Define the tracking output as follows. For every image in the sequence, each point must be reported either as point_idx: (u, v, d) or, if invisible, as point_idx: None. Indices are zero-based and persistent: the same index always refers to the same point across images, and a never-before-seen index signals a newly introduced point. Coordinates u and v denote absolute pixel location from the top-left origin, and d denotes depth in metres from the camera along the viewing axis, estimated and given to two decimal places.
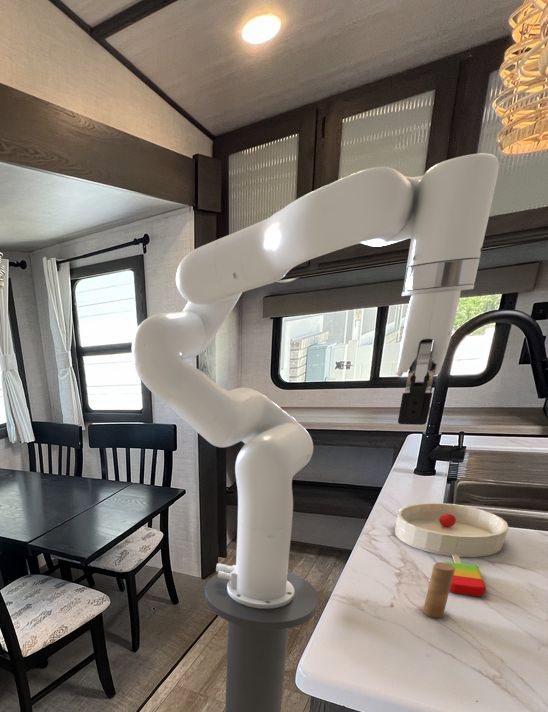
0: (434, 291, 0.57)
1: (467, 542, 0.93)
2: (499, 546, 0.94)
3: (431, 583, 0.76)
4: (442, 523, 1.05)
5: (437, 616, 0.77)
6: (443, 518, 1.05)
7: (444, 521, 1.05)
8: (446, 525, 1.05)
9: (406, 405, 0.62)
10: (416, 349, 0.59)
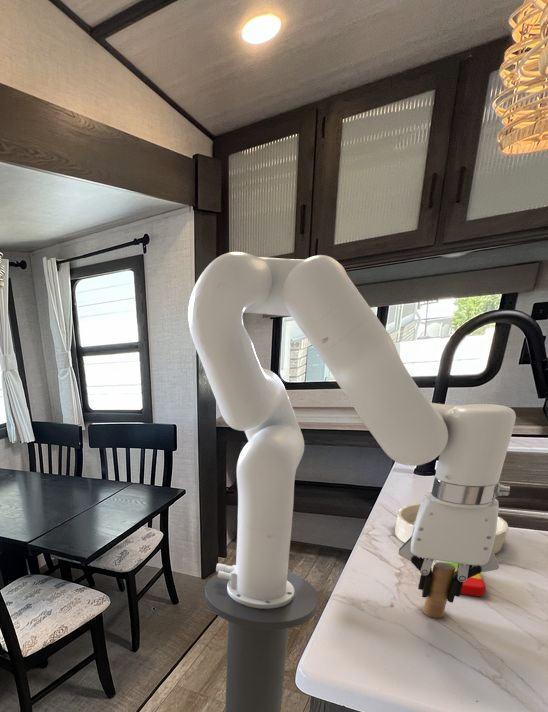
0: (430, 495, 0.72)
1: None
2: (499, 546, 0.94)
3: (431, 583, 0.76)
4: None
5: (437, 616, 0.77)
6: None
7: None
8: None
9: None
10: None
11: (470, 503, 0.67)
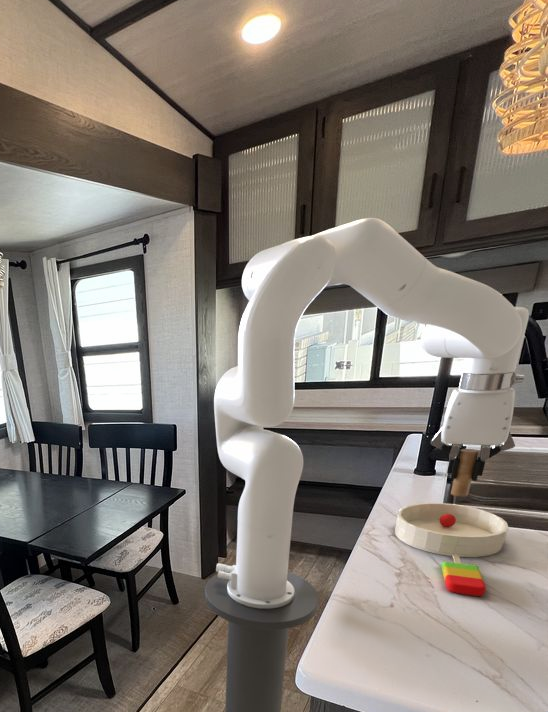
0: (458, 389, 0.88)
1: (467, 542, 0.93)
2: (499, 546, 0.94)
3: (458, 466, 0.92)
4: (442, 523, 1.05)
5: (463, 495, 0.93)
6: (443, 518, 1.05)
7: (444, 521, 1.05)
8: (446, 525, 1.05)
9: None
10: None
11: (492, 389, 0.83)
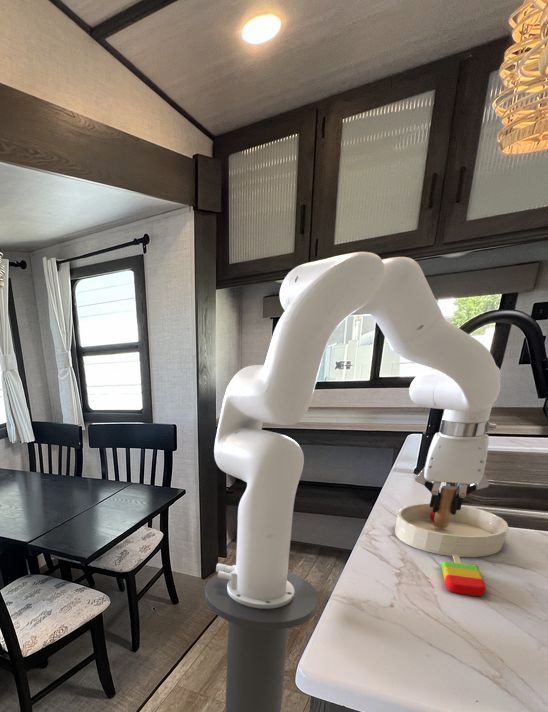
0: (439, 433, 0.99)
1: (467, 542, 0.93)
2: (499, 546, 0.94)
3: (439, 501, 1.03)
4: (433, 515, 1.07)
5: (443, 526, 1.03)
6: (430, 515, 1.09)
7: (431, 514, 1.08)
8: None
9: None
10: None
11: (468, 435, 0.93)
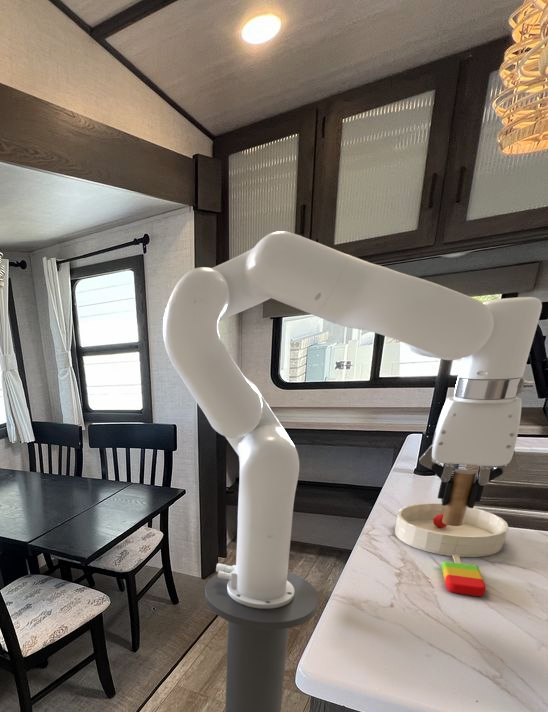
0: (453, 398, 0.73)
1: (467, 542, 0.93)
2: (499, 546, 0.94)
3: (451, 490, 0.77)
4: (434, 524, 1.06)
5: (457, 524, 0.77)
6: (433, 520, 1.06)
7: (433, 522, 1.06)
8: (437, 526, 1.06)
9: None
10: None
11: (495, 398, 0.67)
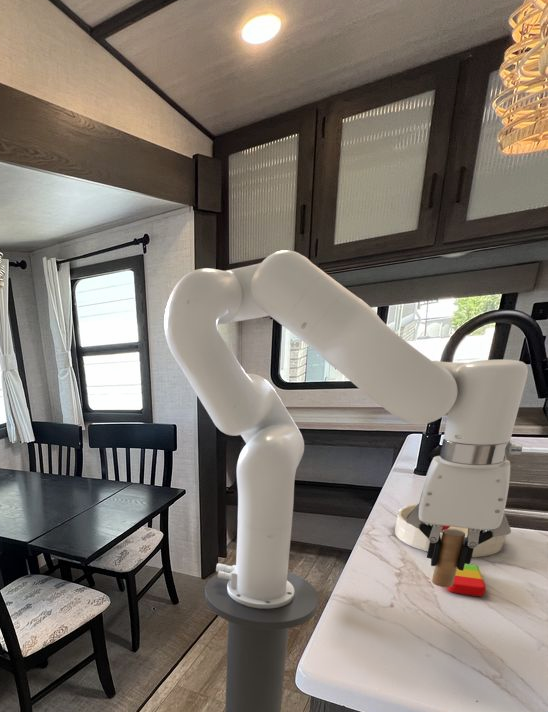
0: (439, 458, 0.70)
1: None
2: (499, 546, 0.94)
3: (440, 551, 0.74)
4: None
5: (447, 585, 0.74)
6: None
7: None
8: None
9: None
10: None
11: (481, 463, 0.64)
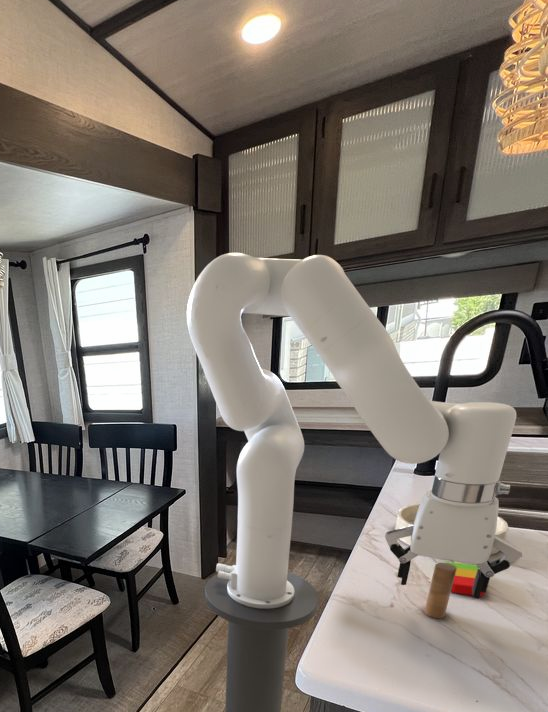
0: (430, 493, 0.72)
1: None
2: None
3: (433, 583, 0.76)
4: None
5: (438, 616, 0.77)
6: None
7: None
8: None
9: None
10: None
11: (470, 501, 0.67)
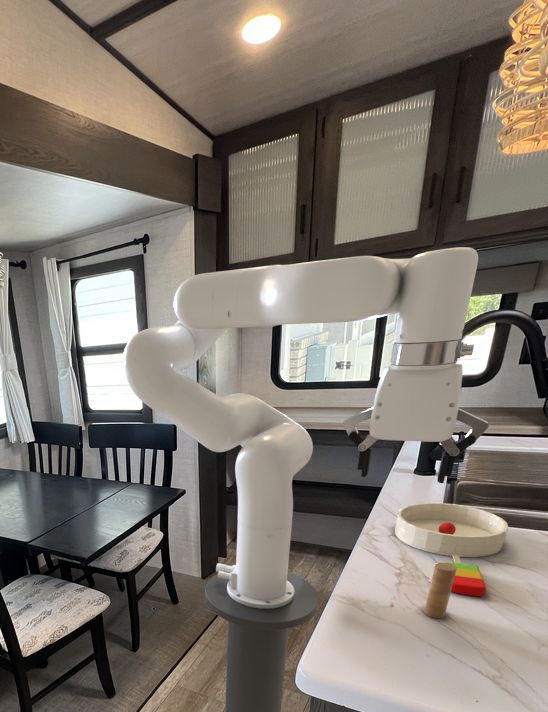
0: (389, 366, 0.65)
1: (467, 542, 0.93)
2: (499, 546, 0.94)
3: (433, 583, 0.76)
4: (442, 525, 1.01)
5: (438, 616, 0.77)
6: None
7: (439, 526, 1.02)
8: (444, 523, 1.02)
9: None
10: None
11: (430, 363, 0.60)
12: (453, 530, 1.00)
